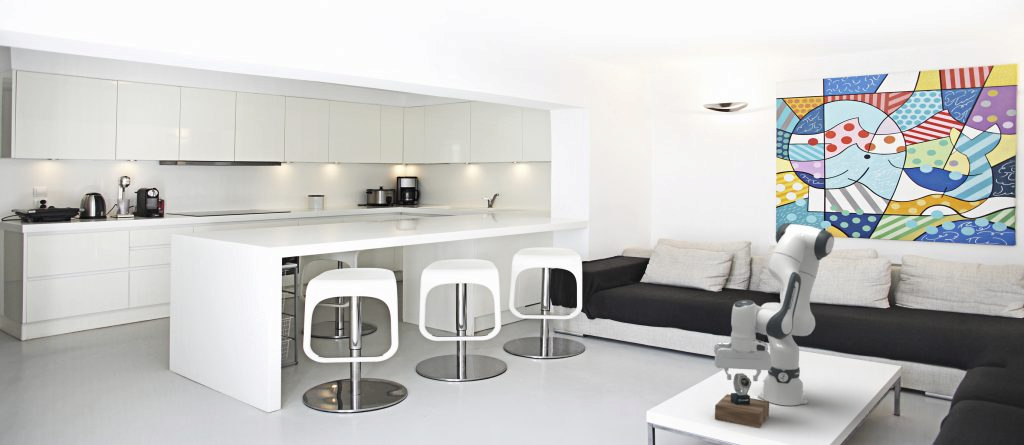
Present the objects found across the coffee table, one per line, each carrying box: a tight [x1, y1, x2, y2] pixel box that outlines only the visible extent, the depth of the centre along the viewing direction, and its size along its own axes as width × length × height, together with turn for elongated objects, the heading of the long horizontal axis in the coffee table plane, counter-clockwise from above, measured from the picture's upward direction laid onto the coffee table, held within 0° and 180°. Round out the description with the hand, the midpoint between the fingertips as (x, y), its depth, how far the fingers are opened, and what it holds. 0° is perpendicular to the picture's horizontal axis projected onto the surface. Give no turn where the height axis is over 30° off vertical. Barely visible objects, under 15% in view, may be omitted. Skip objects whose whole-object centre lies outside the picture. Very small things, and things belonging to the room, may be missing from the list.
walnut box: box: [714, 393, 770, 429], centre depth 273 cm, size 16×16×6 cm
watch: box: [730, 372, 752, 405], centre depth 273 cm, size 6×8×11 cm
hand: (742, 380), depth 272 cm, fingers open, 8 cm apart
